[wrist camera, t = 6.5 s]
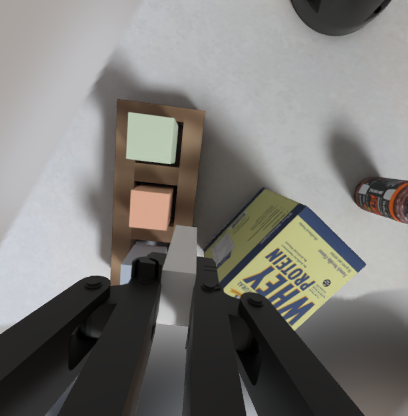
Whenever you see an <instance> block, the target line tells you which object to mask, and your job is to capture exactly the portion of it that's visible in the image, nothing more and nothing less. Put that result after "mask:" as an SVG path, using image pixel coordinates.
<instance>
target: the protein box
mask: <svg viewBox="0 0 408 416" xmlns="http://www.w3.org/2000/svg"><path fill="white" fill-rule="evenodd" d="M204 257H205V258H212V259H213V260H214V261H215V262H216V267H217V273H218V279H219V283H220V284H221V285H222V287H223V289H224V292H225V293H226V294H228V295H230V296H232V297H235V298H238V299H240V297H241V295H242V294H243V293H245V292H255V293H259V294H261V295H263V296H264V297H266V298H267V299H268V300H269V301H270V302H271V303H272V304H273V306H274V307H275V308H276V309H277V310H278V312H279V313H280V314H281V315H282V317H283V318H284V319H285V320H286V321H287V323H288V324H289V325H290V326H291V327H292V329H293V330H294V331H295V330H296V329H297V328H298V327H299V326H300V325H301V324H302V323H303V322H304V321H305V320H306V319H307V318H309V316H311V315H312V314H313V313H314V312H315V311H316V310H317V309H318V308H319V307H320V306H322V305H323V304H324V303H325V302H326V301H327V300H328V299H329V298H330V297H331V296H332V295H333V294H335V293H336V292H337V291H338V290H339V289H340V288H341V287H342V286H343V285H344V284H346V283H347V282H348V281H349V280H350V279H351V278H352V277H353V276H355V275H356V274H357V273H358V272H359V271H360V270H361V269H362V268H364V267H365V266H366V264H365V262H364V261H363V260H362V259H361V258H360V257H359V256H358V255H357V254H356V253H355V252H354V251H353V250H351V249H350V248H349V247H348V246H347V245H346V244H345V243H344V242H343V241H342V240H341V239H340V238H339V237H338V236H337V235H336V234H335V233H334V232H333V231H332V230H331V229H330V228H329V227H328V226H327V225H326V224H325V223H324V222H323V221H322V220H321V219H320V218H319V217H318V216H317V215H316V214H315V213H314V212H313V211H312V210H311V209H310V208H308V207H307V206H305V205H303V204H300V203H298V202H296V201H293V200H291V199H289V198H286V197H284V196H282V195H279V194H277V193H275V192H272V191H270V190H268V189H265V188H262V189H261V190H260V191H259V192H258V193H257V194H256V196H255V197H254V198H253V199H252V200H251V201H250V202H249V203H248V204H247V205H246V206H245V207H244V208H243V209H242V210H241V211H240V212H239V213H238V214H237V215H236V216H235V217H234V219H233V220H232V221H231V222H230V223H229V224H228V225H227V226H226V227H225V228H224V229H223V230H222V231H221V232H220V233H219V234H218V235H217V236H216V237H215V238H214V239H213V240H212V242H211V243H210V244H209V245H208V246H207V247H206V248H205V249H204Z"/></svg>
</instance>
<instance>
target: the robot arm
mask: <svg viewBox="0 0 408 416" xmlns="http://www.w3.org/2000/svg"><path fill="white" fill-rule="evenodd" d="M390 2H391V0H292V3H293V5H294V8H295V10H296V11H297V13H298V15H299V16H300V18H301V19H302V20H303V21H304V22H305V23H306V24H307V25H308V26H309V27H310V28H312V29H313V30H315V31H317V32H319V33H322V34H325V35H330V36H341V35H346V34H350V33H353V32H355V31H357V30H359V29H360V28H362V27H364V26H365V25H366V24H368V23H369V22H370V21H371V20H373V19H374V18H375V17H377V16H378V15H379V14H380V13H381V12H382V11H383V10H384V9H385V8H386V7H387V5H388V4H389V3H390ZM156 320H157V323H159V324H169V325H178V326H179V325H180V326H188V334H187V341H186V348H185V349H186V365H185V381H184V396H183V411H182V416H246V410H245V405H244V400H243V394H242V388H241V383H240V377H239V373H240V375H241V378H242V380H243V382H244V385H245V387H246V389H247V391H248V394H249V396H250V398H251V400H252V403H253V405H254V407H255V410H256V412H257V414H258V416H364V414H363V413H362V412H361V411H360V409H359V408H358V407H357V406H356V405H355V403H354V402H353V401H352V400H351V399H350V398H349V396H348V395H347V394H346V393H345V391H344V390H343V389H342V388H341V387H340V385H339V384H338V383H337V382H336V381H335V379H334V378H333V377H332V376H331V374H330V373H329V372H328V371H327V370H326V369H325V367H324V366H323V365H322V364H321V362H320V361H319V360H318V359H317V358H316V356H315V355H314V354H313V353H312V352H311V350H310V349H309V348H308V347H307V345H305V343H304V342H303V341H302V340H301V338H300V337H299V336H298V335H297V334H296V332H295V331H294V330H293V329H292V327H291V326H290V325H289V324H288V323H287V321H286V320H285V319H284V318H283V317H282V315H281V314H280V313H279V312H278V310H277V309H276V308H275V307H274V306H273V304H272V303H271V302H270V301H269V300H268V299H267V298H266V297H264V296H263V295H261V294H259V293H255V292H245V293H243V294H242V295H241V297H240V299H238V298H235V297H232V296H230V295H228V294H226V293H225V292H224V289H223V287H222V285H221V284H220V283H219V279H218V273H217V267H216V262H215V261H214V260H213V259H212V258H205V257H197V228H196V227H189V226H181V225H176V227H175V230H174V233H173V237H172V240H171V243H170V246H169V250H168V253H167V254H166V253H158V252H151V253H150V254H148V255H147V256H144V257H138V258H136V259H134V260H133V261H132V268H131V279H130V281H129V282H128V283H127V284H123V285H113V286H111V281H110V280H109V279H108V278H106V277H103V276H90V277H86V278H83V279H81V280H79V281H78V282H77V283H75V284H74V285H72V286H71V287H69V288H68V289H66V290H65V291H63V292H62V293H60V294H59V295H57V296H56V297H54V298H53V299H52V300H50V301H49V302H47V303H46V304H44V305H43V306H41V307H40V308H38V309H37V310H35V311H34V312H32V313H31V314H29V315H28V316H27V317H25V318H24V319H22V320H21V321H19V322H18V323H16V324H15V325H13V326H12V327H10V328H9V329H7V330H6V331H4V332H3V333H2V334H0V416H45V414H46V413H47V412H48V411H49V410H50V409H51V407H52V406H53V405H54V404H55V402H56V401H57V400H58V399H59V398H60V396H61V395H62V394H63V393H64V392H65V390H66V389H67V388H68V387H69V386H70V384H71V383H72V382H73V381H74V379H75V378H76V377H77V376H78V375H79V376H78V378H77V380H76V382H75V384H74V385H73V388H72V389H71V391H70V393H69V395H68V397H67V398H66V401H65V402H64V404H63V406H62V408H61V410H60V412H59V413H58V415H57V416H135V414H136V409H137V405H138V401H139V397H140V392H141V388H142V384H143V380H144V376H145V372H146V367H147V363H148V359H149V355H150V350H151V346H152V342H153V338H154V334H155V327H156ZM238 371H239V372H238ZM79 373H80V374H79Z"/></svg>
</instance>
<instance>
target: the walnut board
mask: <svg viewBox="0 0 408 416" xmlns="http://www.w3.org/2000/svg"><path fill="white" fill-rule="evenodd" d="M128 112H131V113H139V114H146V115H154V116H161V117H169V118H174V119H175V121H176V123H177V125H184V126H183V136H182V147H181V157H180V167H178V166H170V165H162V164H153V163H145V162H141V161H140V160H132V159H126V150H127V129H128ZM204 118H205V111H202V110H194V109H187V108H180V107H172V106H165V105H158V104H150V103H143V102H136V101H128V100H121V99H117V124H116V150H115V176H114V202H113V227H112V253H111V279H110V281H111V285H112V286H113V285H120V274H121V264H122V262H123V261H124V259H125V258H126V256H127V255H128V253H129V252H130V250H131V249H132V247H133V246H134V244H136V239H137V240H148V241H158V242H169V243H171V240H172V237H173V233H174V230H175V227H176V225H181V226H189V227H192V224H193V215H194V206H195V197H196V188H197V180H198V171H199V162H200V153H201V144H202V135H203V127H204ZM140 181H141V182H150V183H159V184H168V185H176V186H178V188H177V199H176V209H175V220H170V222H169V225H168V228H167V231H165V230H155V229H145V228H135V227H129V218H130V200H131V190H132V189H134V188H136V187H138V186H139V185H140Z"/></svg>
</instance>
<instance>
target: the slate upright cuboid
mask: <svg viewBox="0 0 408 416" xmlns="http://www.w3.org/2000/svg"><path fill="white" fill-rule="evenodd" d="M151 252H158V253H166V254H167V247H161V246H150V245H140V244H134V246H133V247H132V249H131V250H130V252H129V253H128V255H127V256H126V258H125V259H124V261H123V262H122V264H121V274H120V285H123V284H127V283H128V282H129V281H130V279H131V268H132V261H133V260H134V259H136V258H138V257H144V256H147V255H148V254H150V253H151Z"/></svg>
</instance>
